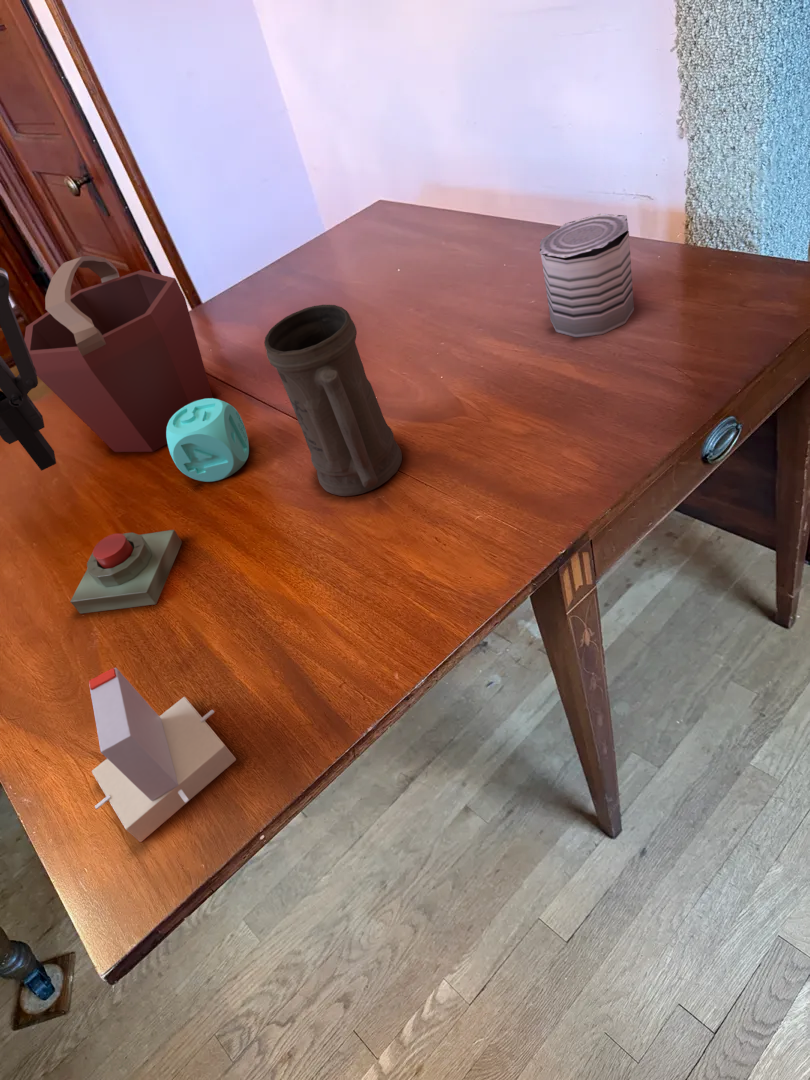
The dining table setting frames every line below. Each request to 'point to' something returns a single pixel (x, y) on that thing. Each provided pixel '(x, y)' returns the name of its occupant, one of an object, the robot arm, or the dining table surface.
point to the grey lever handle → (132, 734)
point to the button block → (129, 575)
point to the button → (112, 550)
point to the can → (588, 275)
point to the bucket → (119, 353)
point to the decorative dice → (207, 440)
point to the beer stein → (333, 399)
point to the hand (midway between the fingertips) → (47, 460)
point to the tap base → (193, 763)
